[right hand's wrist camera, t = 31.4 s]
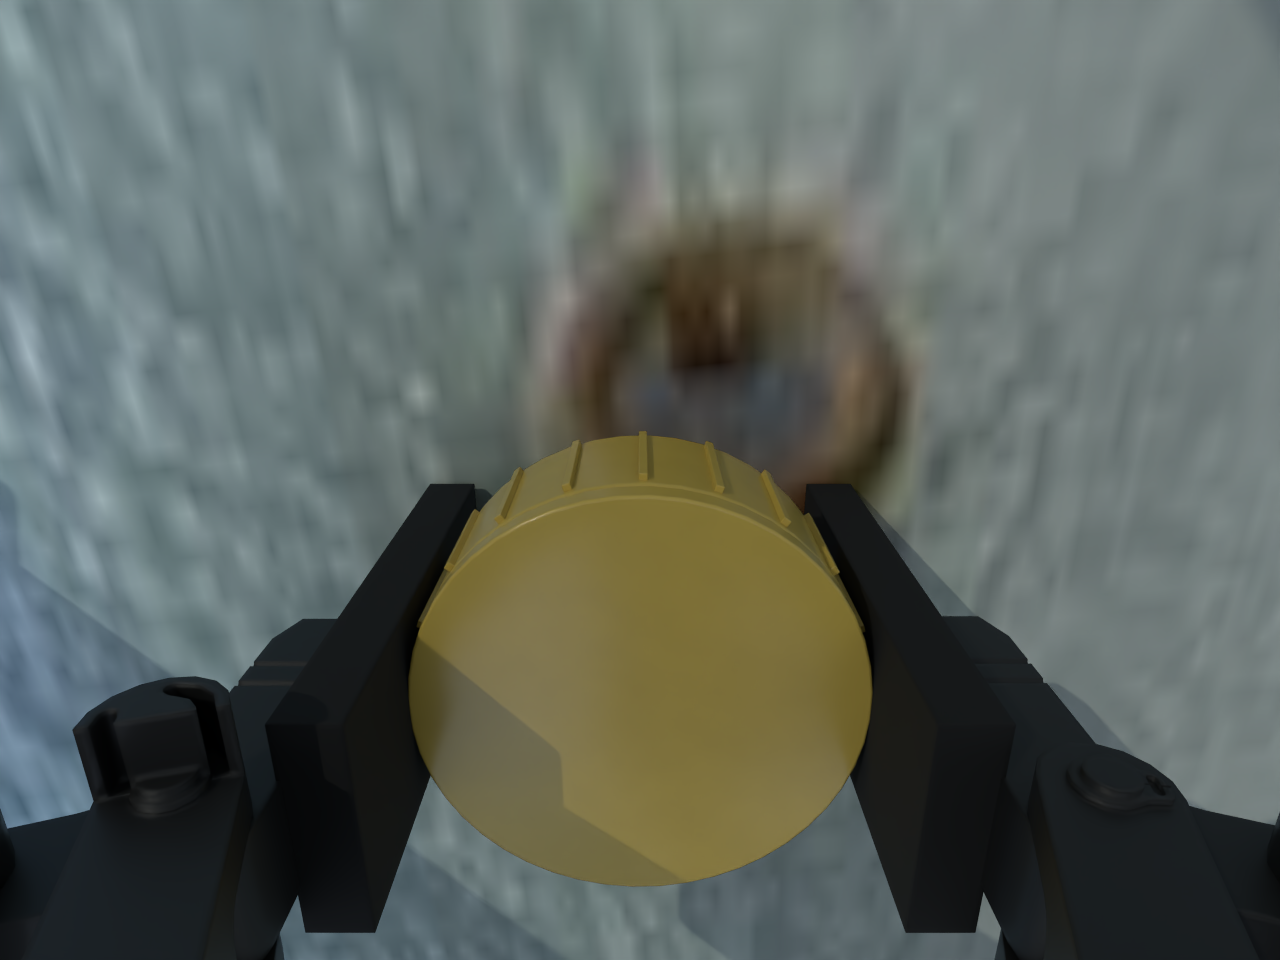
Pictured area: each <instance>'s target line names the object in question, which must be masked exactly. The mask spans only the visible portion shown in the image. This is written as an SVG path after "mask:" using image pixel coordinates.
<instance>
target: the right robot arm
mask: <svg viewBox="0 0 1280 960" xmlns="http://www.w3.org/2000/svg"><path fill="white" fill-rule="evenodd" d="M474 509H476V501H475V488H474V484H430V485H429V487H428V488H427V490H426V491H425V493H424V494H423V495H422V497H421V498H420V500H419V501H418V503H417V504H416V506H415V507H414V509H413V510H412V511H411V513H410V514H409V516H408V517H407V519H406V520H405V522H404V523H403V525H402V526H401V527H400V529H399V530H398V532H397V533H396V535H395V536H394V538H393V539H392V540H391V542H390V543H389V545H388V546H387V548H386V549H385V551H384V552H383V554H382V555H381V556H380V558H379V559H378V561H377V562H376V564H375V565H374V567H373V568H372V570H371V571H370V572H369V574H368V575H367V577H366V578H365V580H364V581H363V583H362V584H361V585H360V587H359V588H358V590H357V591H356V593H355V594H354V596H353V597H352V599H351V600H350V601H349V603H348V604H347V606H346V607H345V609H344V610H343V612H342V613H341V615H340V616H339V617H338V619H302V620H301V621H299V622H298V623H296V624H294V625H293V626H291V627H290V628H288V629H287V630H285V631H284V632H282V633H281V634H279V635H277V636H276V637H274V638H273V639H272V640H271V641H270V642H269V644H268V645H267V646H266V647H265V649H264V650H263V651H262V652H261V654H260V655H259V656H258V657H257V659H256V660H255V661H254V666H250V667H249V669H248V670H247V671H246V672H245V674H244V675H243V676H242V677H241V679H240V680H239V684H238V686H234V687H233V689H232V690H231V691H230V692H228V690H227V689H226V688H225V687H223V686H222V685H221V684H220V683H218V682H217V681H215V680H210V679H206V678H201V677H196V676H194V677H176V678H167V679H162V680H158V681H154V682H150V683H146V684H142V685H138V686H136V687H134V688H131V689H129V690H127V691H124V692H122V693H119V694H117V695H115V696H112V697H110V698H109V699H107V700H106V701H104V702H103V703H101V704H100V705H98V706H97V707H95V708H94V709H92V710H91V711H89V712H88V713H87V714H86V715H85V716H84V717H83V718H82V719H81V721H80V722H79V723H78V724H77V725H76V726H75V727H74V729H73V733H74V737H75V740H76V743H77V747H78V750H79V754H80V757H81V760H82V764H83V767H84V770H85V774H86V777H87V780H88V784H89V787H90V790H91V794H92V797H93V800H94V802H93V804H92V806H91V808H90V810H88V811H85V812H81V813H77V814H73V815H69V816H64V817H59V818H55V819H50V820H45V821H41V822H36V823H32V824H27V825H22V826H18V827H13V828H8V829H7V827H6V824H5V821H4V818H3V815H2V812H1V810H0V960H284V954H283V946H282V942H281V937H280V931H281V929H282V927H283V925H284V922H285V920H286V918H287V916H288V914H289V912H290V910H291V908H292V906H293V904H294V902H295V900H296V897H297V895H298V897H299V902H300V907H301V912H302V917H303V922H304V927H305V932H306V933H375V932H376V929H377V926H378V923H379V920H380V917H381V915H382V912H383V909H384V906H385V903H386V900H387V898H388V895H389V892H390V889H391V886H392V883H393V881H394V878H395V875H396V872H397V869H398V866H399V864H400V861H401V858H402V855H403V852H404V849H405V847H406V844H407V841H408V838H409V835H410V832H411V830H412V827H413V824H414V821H415V818H416V815H417V812H418V810H419V807H420V804H421V801H422V798H423V795H424V793H425V790H426V787H427V784H428V781H429V778H430V776H431V775H430V773H429V771H428V769H427V767H426V765H425V762H424V760H423V758H422V756H421V754H420V752H419V748H418V745H417V742H416V739H415V736H414V732H413V729H412V723H411V715H410V707H409V696H408V675H409V669H410V663H411V657H412V651H413V647H414V644H415V641H416V638H417V635H418V632H419V629H420V628H417V623H418V620H419V618H420V616H421V614H422V612H423V610H424V608H425V606H426V604H427V602H428V600H429V598H430V596H431V594H432V592H433V590H434V588H435V586H436V584H437V582H438V580H439V578H440V576H441V574H442V572H443V570H444V567H445V565H446V563H447V561H448V559H449V557H450V555H451V553H452V551H453V549H454V547H455V545H456V543H457V541H458V539H459V537H460V535H461V533H462V531H463V529H464V527H465V525H466V523H467V521H468V519H469V517H470V515H471V513H472V512H473V511H474ZM807 513H809V514H810V515H811V517H812V518H813V520H814V522H815V524H816V526H817V528H818V530H819V532H820V534H821V536H822V538H823V540H824V542H825V544H826V546H827V548H828V550H829V552H830V554H831V556H832V558H833V560H834V562H835V564H836V566H837V568H838V570H839V573H838V574H839V576H840V578H841V580H842V582H843V584H844V586H845V588H846V590H847V592H848V594H849V596H850V598H851V600H852V602H853V604H854V606H855V608H856V610H857V612H858V614H859V616H860V618H861V620H862V622H863V624H864V627H865V632H863V635H864V638H865V641H866V645H867V649H868V654H869V658H870V662H871V669H872V684H873V695H872V705H871V714H870V722H869V726H868V730H867V734H866V739H865V743H864V745H863V748H862V750H861V753H860V755H859V757H858V760H857V762H856V765H855V767H854V769H853V770H852V772H851V774H850V776H851V779H852V782H853V785H854V788H855V790H856V793H857V796H858V799H859V802H860V805H861V807H862V810H863V813H864V816H865V819H866V822H867V824H868V827H869V830H870V833H871V836H872V839H873V841H874V844H875V847H876V850H877V853H878V856H879V858H880V861H881V864H882V867H883V870H884V873H885V875H886V878H887V881H888V884H889V887H890V890H891V892H892V895H893V898H894V901H895V904H896V907H897V909H898V912H899V915H900V918H901V921H902V924H903V926H904V929H905V932H906V933H975V932H976V927H977V922H978V917H979V912H980V906H981V901H982V896H983V892H984V894H985V896H986V898H987V900H988V902H989V904H990V906H991V908H992V910H993V912H994V914H995V916H996V918H997V921H998V923H999V925H1000V927H1001V932H1000V937H999V942H998V946H997V951H996V956H995V960H1280V813H1279V816H1278V819H1277V822H1276V824H1275V825H1270V824H1266V823H1261V822H1256V821H1252V820H1247V819H1242V818H1238V817H1233V816H1229V815H1224V814H1219V813H1215V812H1210V811H1205V810H1202V809H1198V808H1195V807H1191V806H1189V805H1188V802H1187V800H1186V799H1185V798H1184V796H1183V795H1182V794H1181V792H1180V791H1179V790H1178V788H1177V787H1176V785H1175V784H1174V783H1173V781H1171V780H1170V779H1169V778H1167V777H1166V776H1165V775H1163V774H1162V773H1161V772H1159V771H1158V770H1157V769H1155V768H1154V767H1153V766H1151V765H1150V764H1148V763H1146V762H1144V761H1142V760H1140V759H1138V758H1136V757H1134V756H1132V755H1129V754H1127V753H1125V752H1123V751H1120V750H1116V749H1112V748H1109V747H1105V746H1101V745H1098V744H1096V743H1095V742H1094V741H1093V740H1092V739H1091V737H1090V736H1089V735H1088V734H1087V732H1086V731H1085V730H1084V729H1083V727H1082V726H1081V725H1080V724H1079V722H1078V721H1077V720H1076V719H1075V717H1074V716H1073V715H1072V714H1071V712H1070V711H1069V710H1068V709H1067V708H1066V706H1065V705H1064V704H1063V703H1062V701H1061V700H1060V699H1059V698H1058V696H1057V695H1056V694H1055V693H1054V691H1053V690H1052V689H1051V688H1050V686H1049V685H1048V684H1047V683H1043V678H1042V677H1041V675H1040V674H1039V673H1038V672H1037V670H1036V669H1035V668H1034V667H1033V665H1032V664H1028V662H1027V658H1026V657H1025V655H1024V654H1023V653H1022V652H1021V650H1020V649H1019V648H1018V647H1017V646H1016V644H1015V643H1014V642H1013V641H1012V639H1011V638H1010V637H1009V636H1008V635H1006V634H1005V633H1003V632H1002V631H1000V630H999V629H997V628H995V627H994V626H992V625H991V624H989V623H988V622H986V621H985V620H983V619H981V618H980V617H978V616H941V615H940V613H939V612H938V610H937V609H936V607H935V606H934V605H933V603H932V602H931V600H930V599H929V597H928V596H927V594H926V593H925V592H924V590H923V589H922V587H921V586H920V584H919V583H918V581H917V580H916V578H915V577H914V576H913V574H912V573H911V571H910V570H909V568H908V567H907V565H906V564H905V563H904V561H903V560H902V558H901V557H900V555H899V554H898V552H897V551H896V549H895V548H894V547H893V545H892V544H891V542H890V541H889V539H888V538H887V536H886V535H885V533H884V532H883V531H882V529H881V528H880V526H879V525H878V523H877V522H876V520H875V519H874V518H873V516H872V515H871V513H870V512H869V510H868V509H867V507H866V506H865V504H864V503H863V502H862V500H861V499H860V497H859V496H858V494H857V493H856V491H855V490H854V489H853V487H852V486H851V484H807V486H806V498H805V511H804V515H806V514H807Z"/></svg>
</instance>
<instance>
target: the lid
mask: <svg viewBox="0 0 1280 960" xmlns="http://www.w3.org/2000/svg"><path fill="white" fill-rule="evenodd" d="M838 573H839V570H838V568H837V566H836V564H835V562H834V560H833V558H832V556H831V554H830V552H829V550H828V548H827V546H826V544H825V542H824V540H823V538H822V536H821V534H820V532H819V530H818V528H817V526H816V524H815V522H814V520H813V518H812V517H811V515H810V514H809V513H807V514H806V515H803V514H802V512H801V511H800V510H799V509H798V507H797V506H796V505H795V504H794V502H793V501H792V500H791V499H790V497H788V496H787V495H786V494H785V493H784V492H783V491H782V490H781V489H780V488H779V487H778V486H777V485H776V484H775V483H774V481H773V479H772V476H771V474H770V473H769V472H768V471H766V470H764V471H763V472H762V473H760V472H759V471H757V470H756V469H754V468H753V467H752V466H750V465H748V464H746V463H744V462H743V461H741V460H739V459H737V458H735V457H733V456H731V455H729V454H727V453H725V452H722V451H719V450H716V449H714V446H713V443H711V442H708V441H706V442H705V444H704V445H703V444H699V443H695V442H690V441H686V440H682V439H677V438H669V437H659V436H649V435H647V431H639V436H618V437H612V438H605V439H599V440H593V441H590V442H586V443H583V444H581V442H580V440H576V441H573V442H572V446H571V447H569V448H566V449H564V450H561V451H559V452H557V453H554V454H552V455H550V456H547V457H545V458H543V459H541V460H540V461H538V462H536V463H535V464H533V465H531V466H530V467H528V468H526V469H525V470H522V468H521V467H519V468H517V469H516V470H515V471H514V473H513V475H512V477H511V480H510V481H509V482H507V483H506V484H505V485H504V486H502V487H501V488H500V489H499V490H498V491H497V492H496V494H495V495H494V496H493V497H492V498H491V499H490V500H489V501H488V502H487V503H486V504H485V505H484V506H483V508H482V509H481V511H480V512H479V511H477V510H476V509H474V511H473V512H472V513H471V515H470V517H469V519H468V521H467V523H466V525H465V527H464V529H463V531H462V533H461V535H460V537H459V539H458V541H457V543H456V545H455V547H454V549H453V551H452V553H451V555H450V557H449V559H448V561H447V563H446V565H445V567H444V570H443V572H442V574H441V576H440V578H439V580H438V582H437V584H436V586H435V588H434V590H433V592H432V594H431V596H430V598H429V600H428V602H427V604H426V606H425V608H424V610H423V612H422V614H421V616H420V618H419V620H418V623H417V628H420V629H419V632H418V635H417V638H416V641H415V644H414V647H413V651H412V657H411V663H410V669H409V675H408V696H409V707H410V715H411V723H412V729H413V732H414V736H415V739H416V742H417V745H418V748H419V752H420V754H421V756H422V758H423V760H424V762H425V765H426V767H427V769H428V771H429V773H430V775H431V777H432V778H433V780H434V781H435V783H436V784H437V786H438V787H439V789H440V790H441V792H442V793H443V795H444V796H445V798H446V799H447V800H448V801H449V802H450V803H451V804H452V806H453V807H454V808H455V809H456V810H457V811H458V812H459V814H460V815H461V816H462V817H463V818H464V819H465V820H466V821H468V822H469V823H470V824H471V825H472V826H473V827H474V828H475V829H477V830H478V831H479V832H480V833H481V834H482V835H484V836H485V837H487V838H488V839H490V840H491V841H492V842H494V843H495V844H497V845H498V846H500V847H501V848H503V849H504V850H506V851H508V852H510V853H512V854H513V855H515V856H517V857H519V858H521V859H523V860H525V861H526V862H529V863H531V864H534V865H536V866H538V867H541V868H543V869H546V870H548V871H551V872H554V873H557V874H561V875H564V876H568V877H571V878H575V879H578V880H584V881H589V882H595V883H600V884H606V885H619V886H632V887H635V886H664V885H672V884H680V883H688V882H692V881H697V880H701V879H706V878H710V877H714V876H717V875H720V874H723V873H726V872H729V871H732V870H735V869H738V868H741V867H743V866H745V865H747V864H749V863H751V862H754V861H756V860H758V859H760V858H762V857H764V856H766V855H768V854H769V853H771V852H773V851H774V850H776V849H778V848H779V847H781V846H783V845H784V844H786V843H787V842H789V841H790V840H791V839H793V838H794V837H795V836H796V835H798V834H799V833H800V832H802V831H803V830H804V829H806V828H807V827H808V826H809V825H810V824H811V823H812V822H813V821H814V820H815V819H816V818H817V817H818V816H819V815H820V814H821V813H822V812H823V811H824V810H825V809H826V808H827V807H828V806H829V804H830V803H831V802H832V801H833V799H834V798H835V797H836V795H837V794H838V793H839V792H840V790H841V789H842V787H843V786H844V784H845V782H846V781H847V779H848V777H849V776H850V774H851V772H852V770H853V769H854V767H855V765H856V762H857V760H858V757H859V755H860V753H861V750H862V748H863V745H864V743H865V739H866V734H867V730H868V726H869V722H870V714H871V705H872V695H873V684H872V669H871V662H870V658H869V654H868V649H867V645H866V641H865V638H864V635H863V632H865V627H864V624H863V622H862V620H861V618H860V616H859V614H858V612H857V610H856V608H855V606H854V604H853V602H852V600H851V598H850V596H849V594H848V592H847V590H846V588H845V586H844V584H843V582H842V580H841V578H840V576H839V574H838Z"/></svg>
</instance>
